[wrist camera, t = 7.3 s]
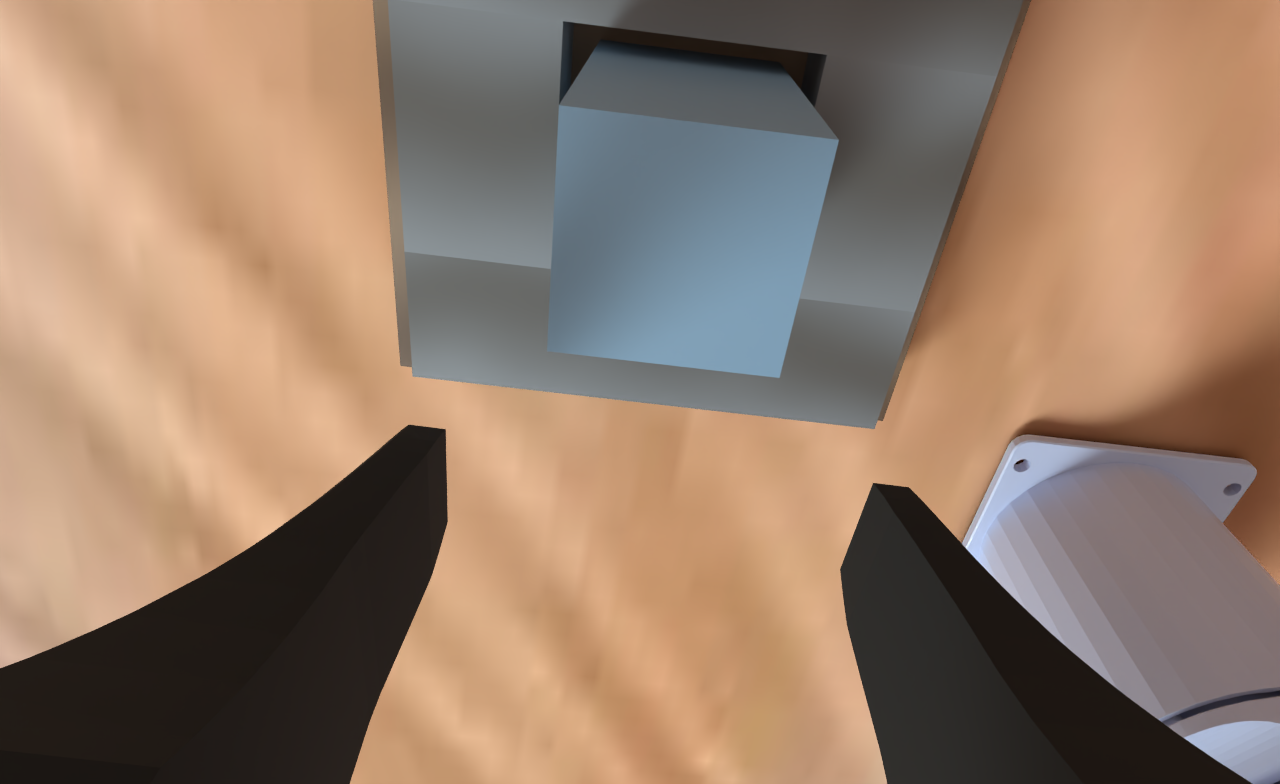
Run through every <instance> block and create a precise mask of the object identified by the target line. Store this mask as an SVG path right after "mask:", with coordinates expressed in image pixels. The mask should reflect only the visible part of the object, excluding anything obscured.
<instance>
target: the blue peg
mask: <svg viewBox="0 0 1280 784" xmlns="http://www.w3.org/2000/svg"><path fill="white" fill-rule="evenodd" d="M838 142H839V139H838V138H837V137H836V135H835V134H834V133H833V131H832V130H831V129H830V128H829V126H828V125H827V124H826V122H825V121H824V120H823V118H822V117H821V116H820V114H819V113H818V112H817V111H816V109H815V108H814V107H813V105H812V104H811V103H810V101H809V100H808V99H807V97H806V96H805V95H804V94H803V92H802V91H801V90H800V88H799V87H798V86H797V84H796V83H795V82H794V80H793V79H792V78H791V77H790V75H789V74H788V73H787V71H786V70H785V69H784V67H783V66H782V65H781V63H780V62H775V61H767V60H759V59H751V58H743V57H735V56H728V55H720V54H712V53H704V52H696V51H688V50H680V49H672V48H664V47H657V46H649V45H641V44H633V43H625V42H617V41H609V40H600V41H599V43H598V44H597V46H596V48H595V49H594V51H593V52H592V54H591V55H590V57H589V59H588V60H587V62H586V63H585V65H584V66H583V68H582V70H581V71H580V73H579V74H578V76H577V77H576V79H575V81H574V82H573V84H572V85H571V87H570V89H569V90H568V92H567V93H566V95H565V96H564V98H563V100H562V101H561V103H560V104H559V114H558V135H557V156H556V176H555V197H554V218H553V238H552V259H551V280H550V300H549V321H548V341H547V351H550V352H559V353H567V354H576V355H585V356H593V357H602V358H611V359H619V360H628V361H637V362H645V363H654V364H663V365H671V366H680V367H689V368H697V369H706V370H715V371H723V372H732V373H741V374H749V375H758V376H767V377H775V378H780V374H781V370H782V366H783V362H784V358H785V354H786V350H787V346H788V342H789V338H790V334H791V330H792V326H793V322H794V318H795V314H796V310H797V306H798V302H799V298H800V294H801V290H802V286H803V282H804V278H805V274H806V270H807V266H808V262H809V258H810V254H811V250H812V246H813V242H814V238H815V234H816V230H817V226H818V222H819V218H820V214H821V210H822V206H823V202H824V198H825V194H826V190H827V186H828V182H829V178H830V174H831V170H832V166H833V162H834V158H835V154H836V150H837V146H838Z"/></svg>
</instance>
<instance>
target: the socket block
mask: <svg viewBox="0 0 1280 784" xmlns="http://www.w3.org/2000/svg"><path fill="white" fill-rule="evenodd" d="M1030 2H1031V0H373V9H374V23H375V36H376V49H377V62H378V75H379V88H380V102H381V115H382V128H383V141H384V154H385V167H386V181H387V194H388V207H389V220H390V233H391V246H392V260H393V273H394V286H395V299H396V312H397V325H398V339H399V352H400V365H401V366H407V367H412V374H413V376H414V377H423V378H431V379H440V380H449V381H458V382H466V383H475V384H484V385H493V386H502V387H510V388H519V389H528V390H537V391H545V392H554V393H563V394H572V395H581V396H589V397H598V398H607V399H616V400H624V401H633V402H642V403H651V404H659V405H668V406H677V407H686V408H695V409H703V410H712V411H721V412H730V413H738V414H747V415H756V416H765V417H774V418H782V419H791V420H800V421H809V422H817V423H826V424H835V425H844V426H852V427H861V428H870V429H875V426H876V423H877V420H880V421H883V419H884V416H885V413H886V410H887V408H888V405H889V402H890V399H891V396H892V393H893V391H894V388H895V385H896V382H897V379H898V376H899V374H900V371H901V368H902V365H903V362H904V359H905V356H906V354H907V351H908V348H909V345H910V342H911V339H912V337H913V334H914V331H915V328H916V325H917V322H918V320H919V317H920V314H921V311H922V308H923V305H924V303H925V300H926V297H927V294H928V291H929V288H930V286H931V283H932V280H933V277H934V274H935V271H936V269H937V266H938V263H939V260H940V257H941V254H942V252H943V249H944V246H945V243H946V240H947V237H948V235H949V232H950V229H951V226H952V223H953V220H954V217H955V215H956V212H957V209H958V206H959V203H960V200H961V198H962V195H963V192H964V189H965V186H966V183H967V181H968V178H969V175H970V172H971V169H972V166H973V164H974V161H975V158H976V155H977V152H978V149H979V147H980V144H981V141H982V138H983V135H984V132H985V130H986V127H987V124H988V121H989V118H990V115H991V113H992V110H993V107H994V104H995V101H996V98H997V96H998V93H999V90H1000V87H1001V84H1002V81H1003V78H1004V76H1005V73H1006V70H1007V67H1008V64H1009V61H1010V59H1011V56H1012V53H1013V50H1014V47H1015V44H1016V42H1017V39H1018V36H1019V33H1020V30H1021V27H1022V25H1023V22H1024V19H1025V16H1026V13H1027V10H1028V8H1029V5H1030ZM600 40H609V41H617V42H625V43H633V44H641V45H649V46H657V47H664V48H672V49H680V50H688V51H696V52H704V53H712V54H720V55H728V56H735V57H743V58H751V59H759V60H767V61H775V62H780V63H781V65H782V66H783V67H784V69H785V70H786V71H787V73H788V74H789V75H790V77H791V78H792V79H793V80H794V82H795V83H796V84H797V86H798V87H799V88H800V90H801V91H802V92H803V94H804V95H805V96H806V97H807V99H808V100H809V101H810V103H811V104H812V105H813V107H814V108H815V109H816V111H817V112H818V113H819V114H820V116H821V117H822V118H823V120H824V121H825V122H826V124H827V125H828V126H829V128H830V129H831V130H832V131H833V133H834V134H835V135H836V137H837V138H838V139H839V142H838V146H837V150H836V154H835V158H834V162H833V166H832V170H831V174H830V178H829V182H828V186H827V190H826V194H825V198H824V202H823V206H822V210H821V214H820V218H819V222H818V226H817V230H816V234H815V238H814V242H813V246H812V250H811V254H810V258H809V262H808V266H807V270H806V274H805V278H804V282H803V286H802V290H801V294H800V298H799V302H798V306H797V310H796V314H795V318H794V322H793V326H792V330H791V334H790V338H789V342H788V346H787V350H786V354H785V358H784V362H783V366H782V370H781V374H780V378H775V377H767V376H758V375H749V374H741V373H732V372H723V371H715V370H706V369H697V368H689V367H680V366H671V365H663V364H654V363H645V362H637V361H628V360H619V359H611V358H602V357H593V356H585V355H576V354H567V353H559V352H550V351H547V341H548V321H549V300H550V280H551V259H552V238H553V218H554V197H555V176H556V156H557V135H558V114H559V104H560V103H561V101H562V100H563V98H564V96H565V95H566V93H567V92H568V90H569V89H570V87H571V85H572V84H573V82H574V81H575V79H576V77H577V76H578V74H579V73H580V71H581V70H582V68H583V66H584V65H585V63H586V62H587V60H588V59H589V57H590V55H591V54H592V52H593V51H594V49H595V48H596V46H597V44H598V43H599V41H600Z"/></svg>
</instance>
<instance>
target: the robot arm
mask: <svg viewBox="0 0 1280 784" xmlns="http://www.w3.org/2000/svg"><path fill="white" fill-rule="evenodd" d="M1022 459H1025V460H1024V461H1023V462H1022V463H1020V464H1015V463H1016V462H1017V461H1019V460H1022ZM1014 464H1015V465H1014ZM1256 475H1257V469H1256V468H1255V467H1254V466H1253V465H1252V464H1251V463H1250V462H1248V461H1247V460H1244V459H1239V458H1231V457H1222V456H1213V455H1204V454H1196V453H1187V452H1178V451H1169V450H1161V449H1152V448H1143V447H1134V446H1126V445H1117V444H1108V443H1099V442H1091V441H1082V440H1073V439H1065V438H1056V437H1047V436H1038V435H1022V436H1019V437H1017V438H1015V439H1014V440H1012V441H1011V443H1010V444H1009V445H1008V448H1007V450H1006V452H1005V454H1004V456H1003V458H1002V460H1001V462H1000V464H999V467H998V469H997V471H996V473H995V475H994V477H993V479H992V481H991V483H990V485H989V488H988V490H987V492H986V494H985V496H984V498H983V500H982V502H981V504H980V506H979V509H978V511H977V513H976V515H975V517H974V519H973V521H972V523H971V525H970V527H969V530H968V532H967V534H966V536H965V538H964V540H963V542H962V544H961V542H960V541H959V540H958V539H957V538H956V537H955V536H954V535H953V534H952V533H951V532H950V531H949V529H948V528H947V527H946V526H945V525H944V524H943V523H942V522H941V521H940V520H939V519H938V517H937V516H936V515H935V514H934V513H933V512H932V511H931V510H930V509H929V508H928V507H927V506H926V504H925V503H924V502H923V501H922V500H921V499H920V498H919V497H918V496H917V495H916V494H915V493H914V492H913V491H912V490H911V489H910V488H909V487H901V486H893V485H885V484H877V483H873V485H872V488H871V490H870V493H869V495H868V498H867V501H866V503H865V506H864V509H863V511H862V514H861V516H860V519H859V522H858V524H857V527H856V530H855V532H854V535H853V537H852V540H851V543H850V545H849V548H848V551H847V553H846V556H845V558H844V561H843V564H842V566H841V569H840V571H841V580H842V589H843V598H844V606H845V613H846V620H847V626H848V630H849V634H850V638H851V642H852V646H853V650H854V654H855V658H856V662H857V665H858V669H859V673H860V677H861V680H862V684H863V688H864V692H865V695H866V699H867V703H868V707H869V710H870V714H871V718H872V721H873V725H874V729H875V733H876V736H877V740H878V744H879V748H880V752H881V756H882V761H883V765H884V770H885V774H886V778H887V784H1280V585H1279V584H1278V583H1277V582H1276V581H1275V580H1274V579H1273V578H1272V576H1271V575H1270V574H1269V573H1268V572H1267V571H1266V570H1265V569H1264V568H1263V567H1262V566H1261V564H1260V563H1259V562H1258V561H1257V560H1256V559H1255V558H1254V557H1253V556H1252V555H1251V554H1250V552H1249V551H1248V550H1247V549H1246V548H1245V547H1244V546H1243V545H1242V544H1241V543H1240V542H1239V540H1238V539H1237V538H1236V537H1235V536H1234V535H1233V534H1232V533H1231V532H1230V531H1229V530H1228V528H1227V527H1226V526H1225V525H1224V524H1223V522H1224V520H1225V519H1226V518H1227V516H1228V515H1229V514H1230V512H1231V511H1232V509H1233V508H1234V507H1235V505H1236V504H1237V503H1238V501H1239V500H1240V498H1241V497H1242V496H1243V494H1244V493H1245V491H1246V490H1247V489H1248V487H1249V486H1250V485H1251V483H1252V482H1253V480H1254V479H1255V477H1256ZM1230 484H1231V485H1230ZM1228 485H1229V486H1228ZM447 522H448V519H447V474H446V429H439V428H431V427H423V426H415V425H408V426H406V427H405V428H404V429H402V430H401V431H400V432H399V433H398V434H396V435H395V436H394V437H393V438H392V439H390V440H389V441H388V442H387V443H386V444H385V445H383V446H382V447H381V448H380V449H379V450H378V451H376V452H375V453H374V454H373V455H372V456H371V457H369V458H368V459H367V460H366V461H365V462H363V463H362V464H361V465H360V466H359V467H358V468H356V469H355V470H354V471H353V472H352V473H350V474H349V475H348V476H347V477H345V478H344V479H343V480H342V481H340V482H339V483H338V484H337V485H335V486H334V487H333V488H332V489H330V490H329V491H328V492H327V493H325V494H324V495H323V496H322V497H320V498H319V499H318V500H316V501H315V502H314V503H313V504H311V505H310V506H308V507H307V508H306V509H304V510H303V511H302V512H300V513H299V514H297V515H296V516H295V517H293V518H292V519H290V520H289V521H288V522H286V523H285V524H284V525H282V526H281V527H279V528H278V529H277V530H275V531H274V532H272V533H271V534H270V535H268V536H267V537H265V538H264V539H262V540H261V541H259V542H258V543H256V544H255V545H253V546H252V547H250V548H248V549H247V550H245V551H244V552H242V553H241V554H239V555H237V556H236V557H234V558H232V559H231V560H229V561H227V562H226V563H224V564H222V565H221V566H219V567H217V568H216V569H214V570H212V571H210V572H209V573H207V574H205V575H203V576H202V577H200V578H198V579H196V580H194V581H192V582H190V583H188V584H186V585H184V586H183V587H181V588H179V589H177V590H175V591H173V592H171V593H169V594H167V595H165V596H163V597H161V598H160V599H158V600H156V601H154V602H152V603H150V604H148V605H146V606H144V607H142V608H140V609H139V610H136V611H134V612H132V613H130V614H128V615H126V616H124V617H122V618H120V619H117V620H115V621H113V622H111V623H109V624H107V625H104V626H102V627H100V628H98V629H96V630H94V631H91V632H89V633H87V634H84V635H82V636H80V637H77V638H75V639H73V640H70V641H68V642H66V643H63V644H61V645H59V646H56V647H54V648H52V649H49V650H47V651H44V652H42V653H39V654H37V655H35V656H32V657H30V658H27V659H24V660H22V661H19V662H16V663H14V664H11V665H8V666H6V667H3V668H0V784H350V780H351V777H352V774H353V771H354V768H355V765H356V762H357V759H358V756H359V753H360V750H361V746H362V743H363V740H364V737H365V734H366V731H367V728H368V725H369V722H370V719H371V717H372V714H373V711H374V709H375V706H376V704H377V701H378V699H379V696H380V693H381V691H382V689H383V687H384V684H385V682H386V680H387V677H388V675H389V673H390V671H391V668H392V666H393V664H394V661H395V659H396V657H397V655H398V652H399V650H400V648H401V645H402V643H403V641H404V639H405V636H406V634H407V632H408V629H409V627H410V625H411V623H412V620H413V618H414V616H415V613H416V611H417V609H418V607H419V604H420V602H421V600H422V597H423V595H424V593H425V590H426V588H427V586H428V583H429V581H430V578H431V576H432V573H433V570H434V567H435V563H436V560H437V557H438V553H439V550H440V547H441V543H442V539H443V536H444V532H445V529H446V525H447Z"/></svg>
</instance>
